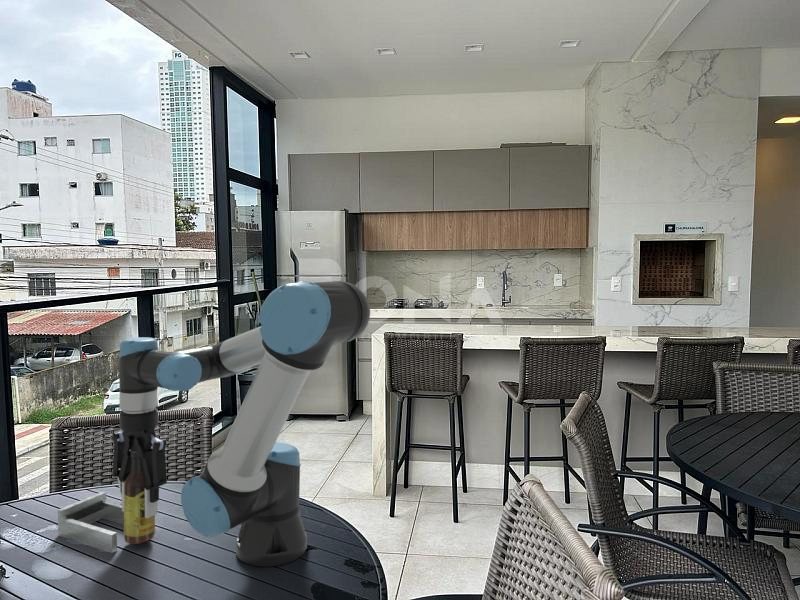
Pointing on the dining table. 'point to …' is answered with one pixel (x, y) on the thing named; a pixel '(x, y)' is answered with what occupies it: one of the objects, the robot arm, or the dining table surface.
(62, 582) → the dining table surface
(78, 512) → the frame
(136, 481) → the sauce bottle
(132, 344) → the robot arm
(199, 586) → the dining table surface
